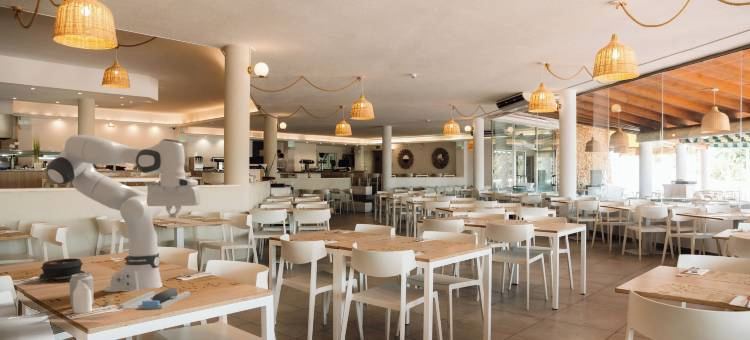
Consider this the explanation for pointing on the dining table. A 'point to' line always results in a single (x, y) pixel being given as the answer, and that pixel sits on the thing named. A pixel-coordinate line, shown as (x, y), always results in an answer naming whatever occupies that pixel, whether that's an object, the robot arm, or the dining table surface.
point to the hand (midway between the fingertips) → (173, 217)
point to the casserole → (61, 269)
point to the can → (85, 279)
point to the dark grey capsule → (165, 295)
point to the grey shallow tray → (151, 301)
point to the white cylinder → (82, 298)
